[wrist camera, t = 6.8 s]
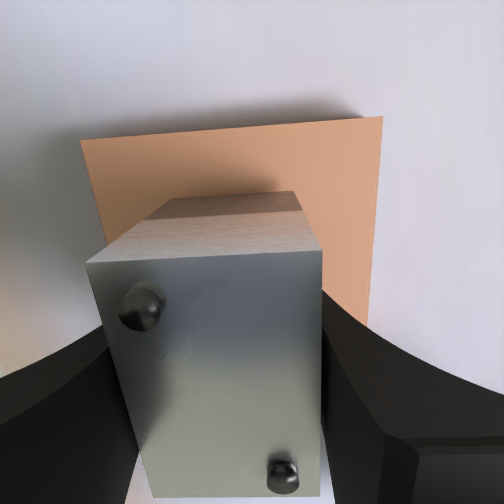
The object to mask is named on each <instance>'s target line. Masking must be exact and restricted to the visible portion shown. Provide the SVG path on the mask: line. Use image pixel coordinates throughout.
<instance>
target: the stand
mask: <svg viewBox="0 0 504 504" xmlns="http://www.w3.org/2000/svg"><path fill="white" fill-rule="evenodd" d="M382 125H383V116H379V117H367V118H354V119H341V120H328V121H316V122H303V123H290V124H277V125H265V126H252V127H239V128H226V129H214V130H201V131H188V132H176V133H163V134H150V135H137V136H125V137H112V138H99V139H86V140H80V144H81V147H82V151H83V155H84V159H85V163H86V166H87V170H88V174H89V178H90V182H91V186H92V189H93V193H94V197H95V201H96V205H97V208H98V212H99V216H100V220H101V224H102V227H103V231H104V235H105V239H106V243H107V246H108V245H109V244H111V243H112V242H113V241H115V240H116V239H118V238H119V237H120V236H122V235H123V234H124V233H126V232H127V231H128V230H130V229H131V228H132V227H134V226H135V225H136V224H138V223H139V222H140V221H142V220H143V219H145V218H146V217H147V216H149V215H150V214H151V213H153V212H154V211H155V210H157V209H158V208H159V207H161V206H162V205H163V204H165V203H166V202H167V201H169V200H170V199H172V198H186V197H201V196H217V195H232V194H247V193H262V192H278V191H294V193H295V195H296V197H297V199H298V201H299V203H300V205H301V207H302V209H303V211H304V213H305V215H306V217H307V219H308V221H309V223H310V225H311V227H312V229H313V231H314V234H315V236H316V238H317V240H318V242H319V244H320V246H321V248H322V250H323V261H322V290H323V291H324V292H326V293H327V294H328V295H329V296H330V297H331V298H332V299H333V300H334V301H335V302H336V303H337V304H339V305H340V306H341V307H342V308H343V309H344V310H345V311H347V312H348V313H349V314H350V315H351V316H353V317H354V318H355V319H357V320H358V321H359V322H360V323H362V324H363V325H365V326H366V327H367V318H368V305H369V292H370V279H371V267H372V254H373V241H374V228H375V215H376V202H377V189H378V176H379V164H380V151H381V138H382Z"/></svg>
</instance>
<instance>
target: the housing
mask: <svg viewBox="0 0 504 504" xmlns="http://www.w3.org/2000/svg"><path fill="white" fill-rule="evenodd" d="M322 261H323V250H322V248H321V246H320V244H319V242H318V240H317V238H316V236H315V234H314V231H313V229H312V227H311V225H310V223H309V221H308V219H307V217H306V215H305V213H304V211H303V209H302V207H301V205H300V203H299V201H298V199H297V197H296V195H295V193H294V191H278V192H262V193H247V194H232V195H217V196H201V197H186V198H172V199H170V200H169V201H167V202H166V203H165V204H163V205H162V206H161V207H159V208H158V209H157V210H155V211H154V212H153V213H151V214H150V215H149V216H147V217H146V218H145V219H143V220H142V221H140V222H139V223H138V224H136V225H135V226H134V227H132V228H131V229H130V230H128V231H127V232H126V233H124V234H123V235H122V236H120V237H119V238H118V239H116V240H115V241H113V242H112V243H111V244H109V245H108V246H107V247H105V248H104V249H103V250H101V251H100V252H99V253H97V254H96V255H95V256H93V257H92V258H90V259H89V260H88V261H86V262H85V266H86V270H87V273H88V276H89V280H90V283H91V287H92V290H93V293H94V297H95V300H96V304H97V307H98V310H99V314H100V317H101V321H102V324H103V328H104V331H105V334H106V338H107V341H108V345H109V348H110V351H111V355H112V358H113V362H114V365H115V368H116V372H117V375H118V379H119V382H120V386H121V389H122V392H123V396H124V399H125V403H126V406H127V409H128V413H129V416H130V420H131V423H132V426H133V430H134V433H135V437H136V440H137V444H138V447H139V450H140V454H141V457H142V461H143V464H144V467H145V471H146V474H147V478H148V481H149V484H150V488H151V491H152V495H153V498H183V497H320V432H321V346H322Z"/></svg>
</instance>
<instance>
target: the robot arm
mask: <svg viewBox="0 0 504 504" xmlns="http://www.w3.org/2000/svg"><path fill="white" fill-rule="evenodd" d="M321 426H322V430H323V435H324V439H325V444H326V450H327V456H328V462H329V468H330V474H331V480H332V486H333V492H334V498H335V504H504V395H503V394H500V393H497V392H494V391H491V390H489V389H486V388H483V387H481V386H479V385H476V384H474V383H471V382H469V381H466V380H464V379H461V378H459V377H457V376H454V375H452V374H450V373H448V372H445V371H443V370H441V369H439V368H437V367H435V366H433V365H431V364H429V363H427V362H425V361H423V360H421V359H419V358H417V357H415V356H413V355H411V354H409V353H407V352H405V351H403V350H402V349H400V348H398V347H397V346H395V345H393V344H392V343H390V342H388V341H387V340H385V339H383V338H382V337H380V336H379V335H377V334H376V333H374V332H373V331H371V330H370V329H369V328H367V327H366V326H365V325H363V324H362V323H360V322H359V321H358V320H357V319H355V318H354V317H353V316H351V315H350V314H349V313H348V312H347V311H345V310H344V309H343V308H342V307H341V306H340V305H339V304H337V303H336V302H335V301H334V300H333V299H332V298H331V297H330V296H329V295H328V294H327V293H326V292H324V291H323V290H322V346H321ZM138 453H139V447H138V444H137V440H136V437H135V433H134V430H133V426H132V423H131V420H130V416H129V413H128V409H127V406H126V403H125V399H124V396H123V392H122V389H121V386H120V382H119V379H118V375H117V372H116V368H115V365H114V362H113V358H112V355H111V351H110V348H109V345H108V341H107V338H106V334H105V331H104V328H103V325H101V326H100V327H98V328H96V329H95V330H93V331H92V332H90V333H88V334H87V335H85V336H83V337H82V338H80V339H78V340H77V341H75V342H73V343H72V344H70V345H68V346H66V347H64V348H63V349H61V350H59V351H57V352H55V353H53V354H51V355H49V356H47V357H45V358H43V359H41V360H39V361H37V362H35V363H33V364H31V365H29V366H26V367H24V368H22V369H20V370H17V371H15V372H13V373H11V374H8V375H6V376H4V377H2V378H0V504H124V503H125V500H126V496H127V492H128V488H129V485H130V481H131V477H132V474H133V471H134V467H135V464H136V460H137V457H138Z"/></svg>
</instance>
